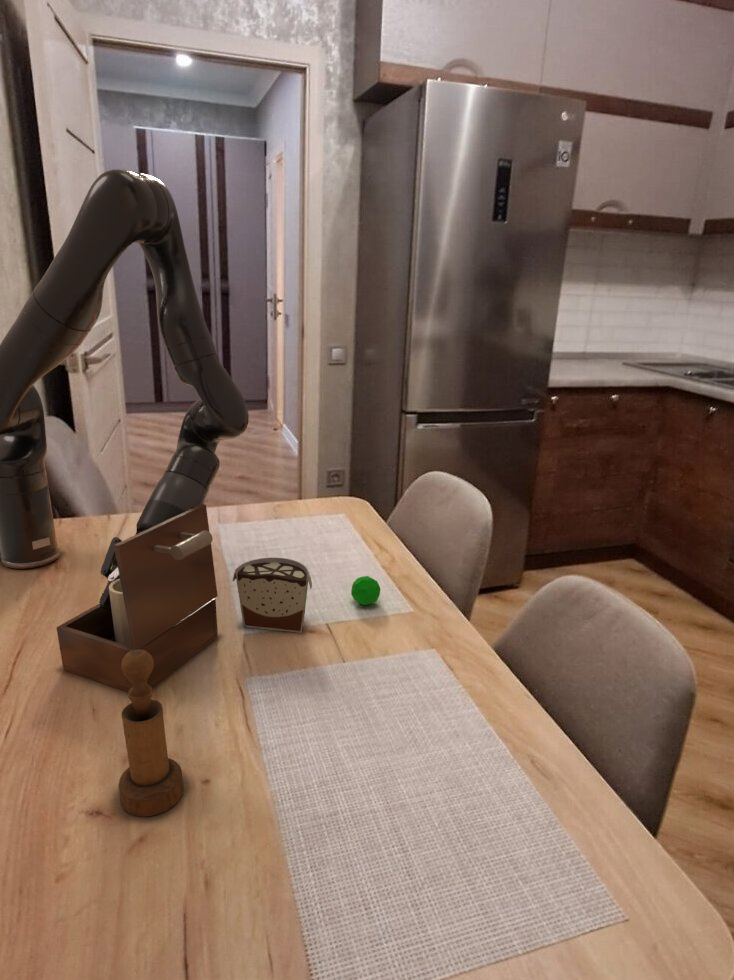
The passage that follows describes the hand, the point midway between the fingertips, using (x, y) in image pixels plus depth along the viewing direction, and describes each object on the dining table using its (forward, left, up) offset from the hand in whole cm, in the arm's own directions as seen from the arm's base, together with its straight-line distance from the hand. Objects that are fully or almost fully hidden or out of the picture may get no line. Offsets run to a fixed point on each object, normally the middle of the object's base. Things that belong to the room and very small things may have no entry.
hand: (123, 614), depth 94 cm
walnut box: (+1, +2, -7) cm, 7 cm away
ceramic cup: (0, +2, -6) cm, 6 cm away
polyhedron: (+23, +31, -7) cm, 39 cm away
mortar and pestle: (+21, -19, -7) cm, 30 cm away
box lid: (+7, +2, +7) cm, 11 cm away
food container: (+13, +19, -7) cm, 24 cm away
